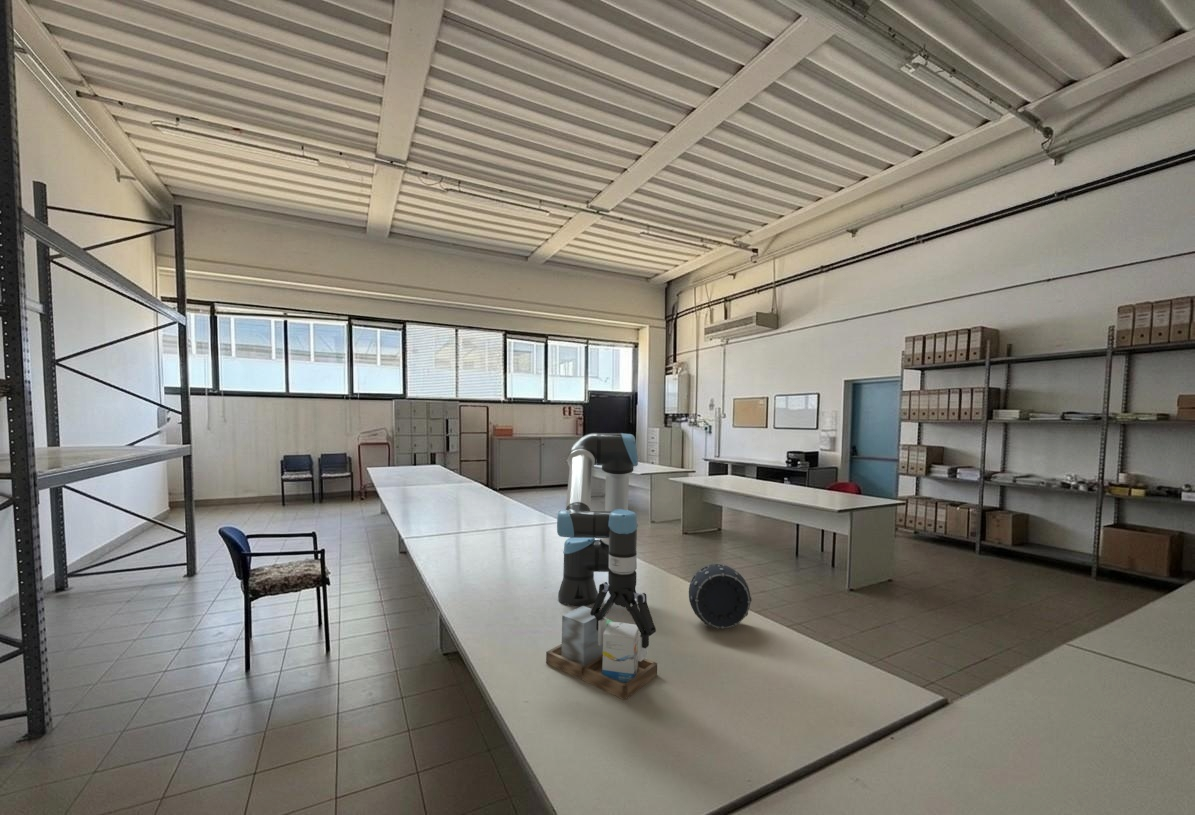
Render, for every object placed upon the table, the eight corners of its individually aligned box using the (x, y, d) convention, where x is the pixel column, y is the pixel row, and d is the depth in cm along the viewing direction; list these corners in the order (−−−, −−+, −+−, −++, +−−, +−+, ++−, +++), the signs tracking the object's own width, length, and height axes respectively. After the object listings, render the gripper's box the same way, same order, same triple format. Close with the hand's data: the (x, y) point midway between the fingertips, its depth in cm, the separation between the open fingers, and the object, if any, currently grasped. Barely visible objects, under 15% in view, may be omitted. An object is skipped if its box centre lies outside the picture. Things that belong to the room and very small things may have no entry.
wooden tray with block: (546, 662, 131) (547, 615, 131) (580, 643, 143) (581, 600, 143) (625, 700, 114) (626, 645, 114) (657, 674, 126) (658, 625, 126)
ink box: (633, 684, 119) (634, 637, 119) (601, 679, 121) (602, 633, 121) (638, 667, 127) (639, 623, 128) (608, 663, 129) (609, 620, 130)
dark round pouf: (753, 633, 151) (754, 571, 152) (691, 632, 152) (692, 569, 152) (744, 619, 162) (744, 561, 163) (686, 618, 163) (686, 560, 163)
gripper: (578, 563, 130) (577, 642, 129) (654, 584, 115) (653, 673, 114) (595, 557, 136) (594, 632, 135) (669, 576, 120) (668, 660, 120)
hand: (621, 651), depth 125 cm, fingers open, 12 cm apart
